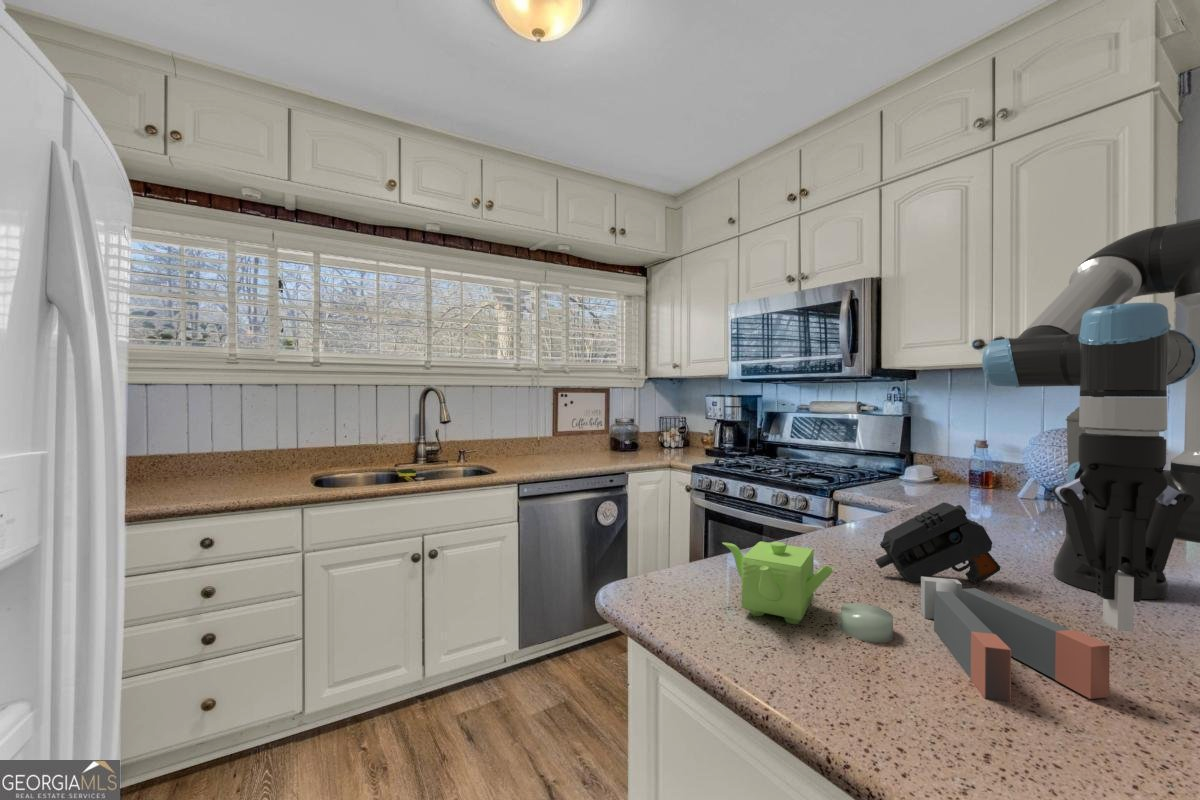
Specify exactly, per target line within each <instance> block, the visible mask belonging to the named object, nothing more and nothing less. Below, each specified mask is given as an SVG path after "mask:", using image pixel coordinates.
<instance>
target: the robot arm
mask: <svg viewBox="0 0 1200 800" xmlns="http://www.w3.org/2000/svg"><path fill="white" fill-rule="evenodd" d="M1069 277H1070V278H1069V280H1068V285H1067V286H1066V287H1065V288H1064V290H1063V291H1062V292H1061V293H1059V294H1058V295H1057V296H1056V298H1054V300H1053V301H1052V302H1051V303H1050V304H1049V305H1048V306H1046V308H1045V309H1044V310H1043V311H1042V312H1041V313H1040V314H1039V315H1038V316H1037V317H1036V318H1035V319H1034V320H1033V322H1031V323H1030V325H1028V327H1026V328H1025V330H1024V331H1022V333H1021V334H1020V335H1018V337H1015V338H1014V337H1013V338H1010V337H1006V338H1004V339H997V340H992V341H990V342H989V343H987V345H986V346H985V348H984V350H983V353H982V357H981V358H982V359H981V360H982V361H981V366H982V367H981V368H982V371H983V375H984V377H985V379H986V380H987V382H988V383H990V384H991V385H993V386H997V387H1014V388H1017V389H1018V388H1023V387H1024V388H1026V387H1030V388H1031V387H1033V388H1034V387H1079V402H1078V403H1079V406H1078V407H1079V427H1081V428H1083V429H1086V433H1081V435H1079V449H1078V459H1079V462H1075V463H1073V464H1071V465H1070V466H1069V467H1068V466H1067V471H1066V472H1067V473H1066V483H1065V484H1064V485H1058V484H1057V485H1054V486H1053V487H1052V488H1051V492H1052V493H1053V495H1054V496H1055V497H1056V499H1057V501H1059V503H1060V504H1061V507H1062V511H1063V513H1064V514H1063V515H1064V518H1065V538H1064V540H1063V543H1062V544H1061V547H1060V548H1059V550H1058V553H1057V555H1056V557H1055V560H1054V561H1053V576H1054V577H1055V578H1056V579H1058V580H1059V581H1061V582H1063V583H1066V584H1068V585H1071V586H1074V587H1076V588H1080V589H1082V590H1083V589H1084V590H1088V591H1091V592H1095V593H1096V595H1097V597H1100V598H1102V621H1103V622H1104V623H1106V624H1107V625H1109V626H1111V627H1112V628H1113V629H1114V630H1117V631H1121V632H1122V631H1123V632H1134V603H1141V600H1160V599H1164V598H1166V597H1168V594H1169V593H1168V592H1169V591H1168V590H1169V589H1168V586H1169V584H1168V581H1167V578H1166V575H1165V573H1164V571H1165V569H1166V565H1167V563H1168V559H1169V556H1170V553H1171V550H1172V548H1173V544H1174V542H1175V540H1177V541H1178V540H1179V541H1184V542H1185V541H1186V542H1192V543H1198V544H1200V218H1198V219H1197V218H1196V219H1192V220H1187V221H1181V222H1178V223H1172V224H1168V225H1167V224H1166V225H1161V226H1155V227H1149V228H1145V229H1142V230H1139V231H1136V232H1133V233H1131V234H1129V235H1126V236H1124V237H1121V238H1120V239H1117V240H1115V241H1113V242H1111V243H1110V244H1107V245H1106V246H1104V247H1102V248H1101V249H1099V250H1098V251H1096V252H1095V253H1093V254H1091V255H1090V256H1089V257H1087V258H1086V259H1085V260H1083V261H1082V262H1081V263H1080V264H1079V265H1078V266H1077V267H1076V268H1075V269H1074V270H1073V272H1072V273H1071V275H1070V276H1069ZM1167 293H1168V294H1170V293H1174V302H1175V303H1176V304H1178V305H1180V306H1181V307H1183V308H1185V310H1186V311H1187V313H1186V314H1187V315H1186V316H1187V318H1186V319H1187V320H1186V323H1187V324H1186V334H1185V333H1184V332H1181V331H1177V330H1175V329H1171V326H1172V324H1171V323H1170V322H1169V321H1170V320H1169V310H1168V308H1167V307H1166V305H1165V304H1161V303H1158V302H1130V300H1132V299H1133V298H1136V297H1141V296H1150V295H1156V294H1158V295H1159V294H1167ZM1127 302H1128V303H1127ZM1129 302H1130V303H1129ZM1184 380H1185V401H1184V403H1185V404H1184V405H1185V406H1184V407H1185V408H1184V409H1185V410H1184V446H1183V447H1184V449H1183V452H1182V453H1180V454H1178V455H1176V456H1175V457H1174V458H1172V459H1170V469H1165V466H1166V464H1167V439H1165V437H1164V436H1161V435H1160V433H1162V432H1165V431H1167V430H1168V397H1167V396H1168V391H1167V390H1168V389H1167V388H1168V386H1169V385H1173V384H1174V385H1175V384H1177V383H1179V382H1182V381H1184Z"/></svg>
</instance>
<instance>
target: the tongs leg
mask: <svg viewBox="0 0 1200 800" xmlns="http://www.w3.org/2000/svg"><path fill="white" fill-rule="evenodd" d="M961 602H962V603H963V604H964V605H965V606H966V607H967V608H968V609H969V610H970V611H971V612H972V613H973V614H974V615H975V616H976V617H977V618H978V619H979V620H980V621H981V622H982V623H983V624H984V625H985V626H986V627H987V628H988V629H989V630H990V631H991V632H992V633H993V634H996V635H997V636H998V637H999V638H1000V639H1001V640H1002V641H1003V642H1004V643H1005V644H1006V645H1007V646H1008V647H1009V648H1010V649H1011V658H1014V659H1016V660H1018V661H1020V662H1021V663H1024V664H1025V665H1027V666H1029V667H1031V668H1032V669H1035V670H1036V671H1039V672H1041V673H1042V674H1044V675H1046V676H1047V677H1050V678H1051V679H1053V680H1055V681H1056V682H1058V683H1060V684H1061V685H1064V687H1067V688H1069V689H1071V690H1073V691H1075V692H1076V693H1078V694H1080V695H1082V696H1084V697H1085V698H1087V699H1089V700H1093V699H1095V700H1096V699H1104V698H1110V665H1111V664H1110V661H1111V659H1110V658H1111V656H1110V655H1111V653H1110V652H1111V651H1110V649H1111V647H1110V644H1107V643H1106V642H1103V641H1101V640H1098V639H1096V638H1094V637H1092V636H1089V635H1087V634H1084V633H1083V632H1080V631H1078V630H1075V629H1071V628H1068V627H1065V626H1064V625H1061V624H1059V623H1057V622H1054V621H1051V620H1050V619H1047V618H1045V617H1043V616H1041V615H1037V614H1036V613H1033V612H1031V611H1029V610H1026V609H1024V608H1021V607H1020V606H1017V605H1015V604H1013V603H1010V602H1008V601H1006V600H1004V599H1000V598H999V597H997V596H994V595H992V594H990V593H987V592H985V591H982V590H980V589H978V588H975V587H972V588H962V589H961Z"/></svg>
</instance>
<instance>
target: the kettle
mask: <svg viewBox="0 0 1200 800" xmlns="http://www.w3.org/2000/svg"><path fill="white" fill-rule="evenodd" d="M721 543H722V545H724V546H725V547H726V548H727V549H729V550H730V551H731V553H732V555H733V556H732V557H733V559H734V562H735V566H736V570H737V573H738V576H739V577H740V578H741V608H742V609H745V610H750V611H749V612H750V613H749V614H751V615H752V616H754V617H755V616H756V617H762V616H765V614H769V615H771V616H778V617H782V618H784V621H785V622H786V623H787V624H791V625H798V624H800V622H801V621H802V620H803V617H804V616H805V614H806V612H807V611H808V608H809V606H810V604H811V602H812V600H813V599H814V592H815V591H817V589H818V588H819V587H820V586H821V585H822V584H823V583H824V582H825V581H826V580H827V579H828V578H829V577H830V575H832V574H833V573H834V571H835V569H834V567H831V566H829V565H827V564H825V565H824V566H823V567H821V568H820V569H819V570H818V571H816V572H814V569H815V567H814V562H815V561H814V558H815V557H814V551H815V550H814V549H813V548H807V547H800V546H796V545H795V546H794V545H790V544H789V545H788V544H787V543H785V542H781V541H772V542H766V541H759V542H757V543H756V544H755V545H754V546H753V547H752V548H751V549H749V550H748V551H747V552H746V553H745V554H744V555H743V553H742V551H741V549H740V548H739V547H738V546H737V545H736V544H734V543H730V542H721Z"/></svg>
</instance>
